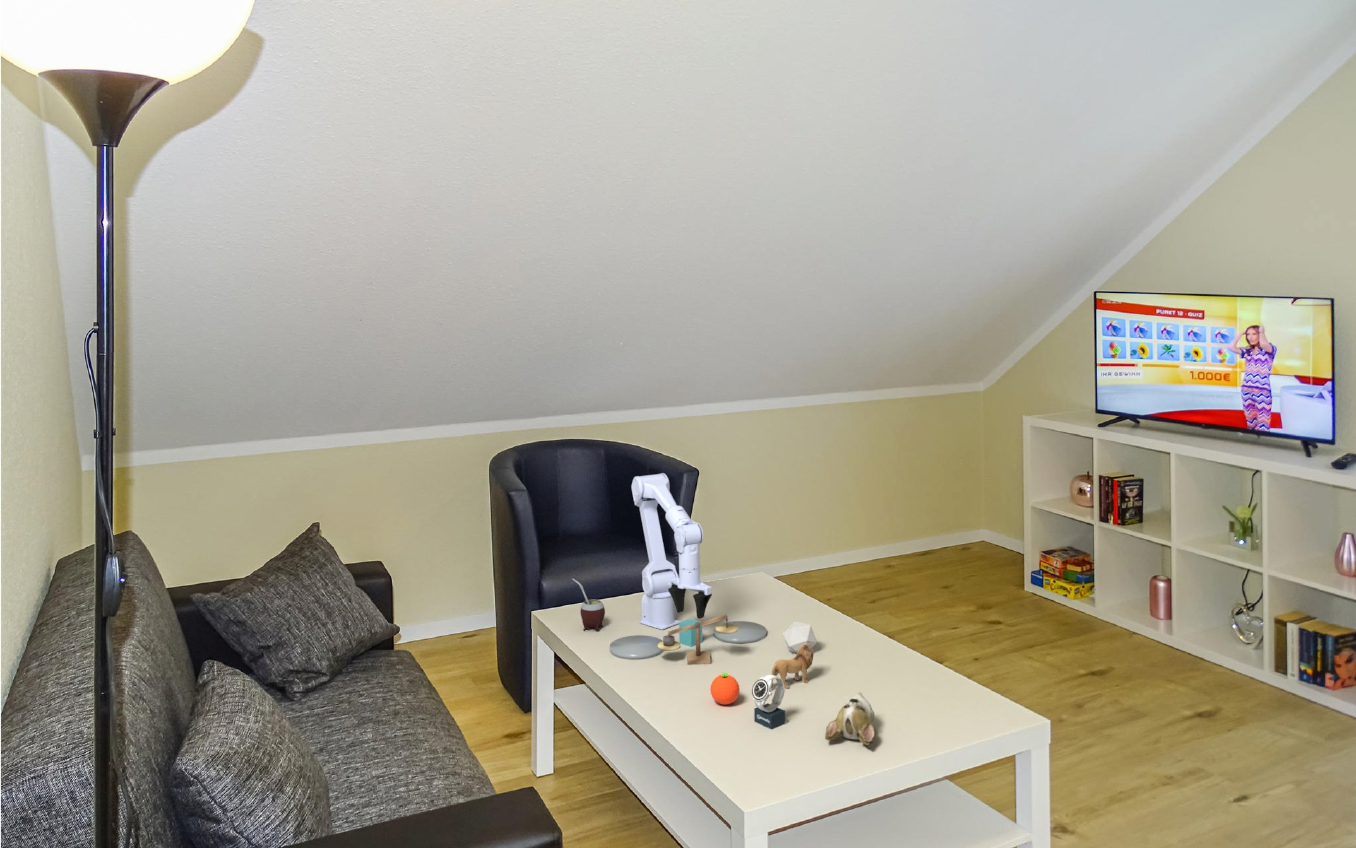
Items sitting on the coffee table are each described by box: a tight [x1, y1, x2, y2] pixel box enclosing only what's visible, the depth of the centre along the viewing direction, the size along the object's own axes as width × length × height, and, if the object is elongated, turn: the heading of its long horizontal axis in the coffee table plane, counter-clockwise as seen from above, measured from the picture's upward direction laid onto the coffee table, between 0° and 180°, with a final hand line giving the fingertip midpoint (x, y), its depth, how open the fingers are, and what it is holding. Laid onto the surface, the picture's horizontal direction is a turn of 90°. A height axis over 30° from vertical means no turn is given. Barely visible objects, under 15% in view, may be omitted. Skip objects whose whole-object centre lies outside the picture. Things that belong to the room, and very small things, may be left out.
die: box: [782, 620, 818, 654], centre depth 274 cm, size 8×9×10 cm
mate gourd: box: [571, 578, 606, 633], centre depth 295 cm, size 8×8×15 cm
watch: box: [751, 673, 786, 730], centre depth 230 cm, size 6×8×11 cm
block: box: [678, 618, 703, 648], centre depth 282 cm, size 4×4×6 cm
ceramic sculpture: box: [824, 691, 876, 746], centre depth 223 cm, size 11×9×15 cm
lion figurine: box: [770, 643, 815, 689], centre depth 252 cm, size 15×5×9 cm, turn 130°
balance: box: [658, 614, 738, 665], centre depth 269 cm, size 21×6×12 cm, turn 92°
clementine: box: [709, 672, 740, 705], centre depth 242 cm, size 8×7×7 cm
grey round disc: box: [712, 620, 767, 645], centre depth 288 cm, size 15×15×1 cm
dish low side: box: [609, 634, 665, 660], centre depth 278 cm, size 15×15×1 cm
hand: (690, 614), depth 281 cm, fingers open, 7 cm apart
